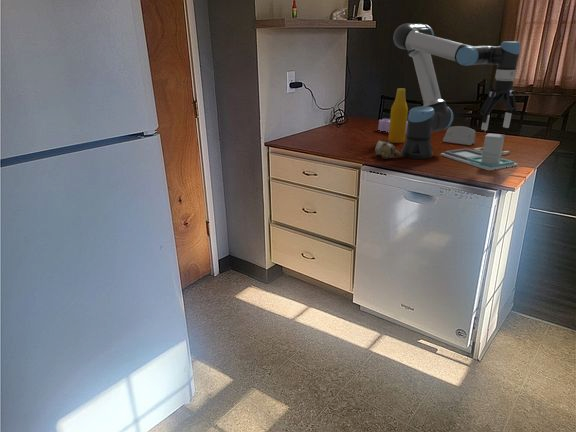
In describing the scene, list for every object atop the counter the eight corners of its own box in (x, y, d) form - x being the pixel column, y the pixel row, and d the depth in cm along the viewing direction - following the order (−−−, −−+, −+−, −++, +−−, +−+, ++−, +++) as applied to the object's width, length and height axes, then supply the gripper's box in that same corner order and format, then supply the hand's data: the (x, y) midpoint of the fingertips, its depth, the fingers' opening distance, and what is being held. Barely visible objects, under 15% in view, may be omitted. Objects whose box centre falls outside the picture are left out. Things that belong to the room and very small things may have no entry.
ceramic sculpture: (388, 135, 220) (406, 143, 208) (386, 152, 224) (404, 161, 211) (370, 138, 216) (387, 146, 204) (368, 154, 220) (385, 163, 208)
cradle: (490, 156, 215) (491, 153, 214) (471, 151, 225) (471, 148, 225) (509, 154, 220) (509, 151, 220) (489, 148, 230) (490, 146, 230)
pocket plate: (488, 170, 193) (489, 166, 192) (440, 155, 218) (441, 151, 217) (517, 165, 200) (518, 161, 199) (467, 151, 225) (467, 147, 224)
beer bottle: (398, 144, 242) (403, 90, 231) (384, 141, 248) (389, 88, 237) (408, 141, 247) (413, 88, 236) (394, 139, 254) (399, 87, 243)
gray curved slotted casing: (442, 141, 248) (446, 123, 247) (444, 142, 252) (448, 125, 250) (472, 145, 238) (476, 127, 237) (474, 146, 242) (478, 128, 241)
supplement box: (500, 161, 203) (505, 134, 198) (497, 165, 198) (502, 137, 193) (483, 159, 207) (488, 132, 202) (480, 162, 201) (484, 135, 197)
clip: (374, 131, 275) (375, 120, 272) (385, 128, 283) (385, 118, 281) (403, 135, 262) (404, 124, 260) (413, 132, 271) (414, 121, 268)
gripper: (490, 81, 181) (481, 132, 189) (531, 79, 191) (521, 127, 199) (476, 80, 187) (468, 129, 195) (517, 77, 197) (507, 124, 205)
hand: (495, 128), depth 197 cm, fingers open, 13 cm apart
